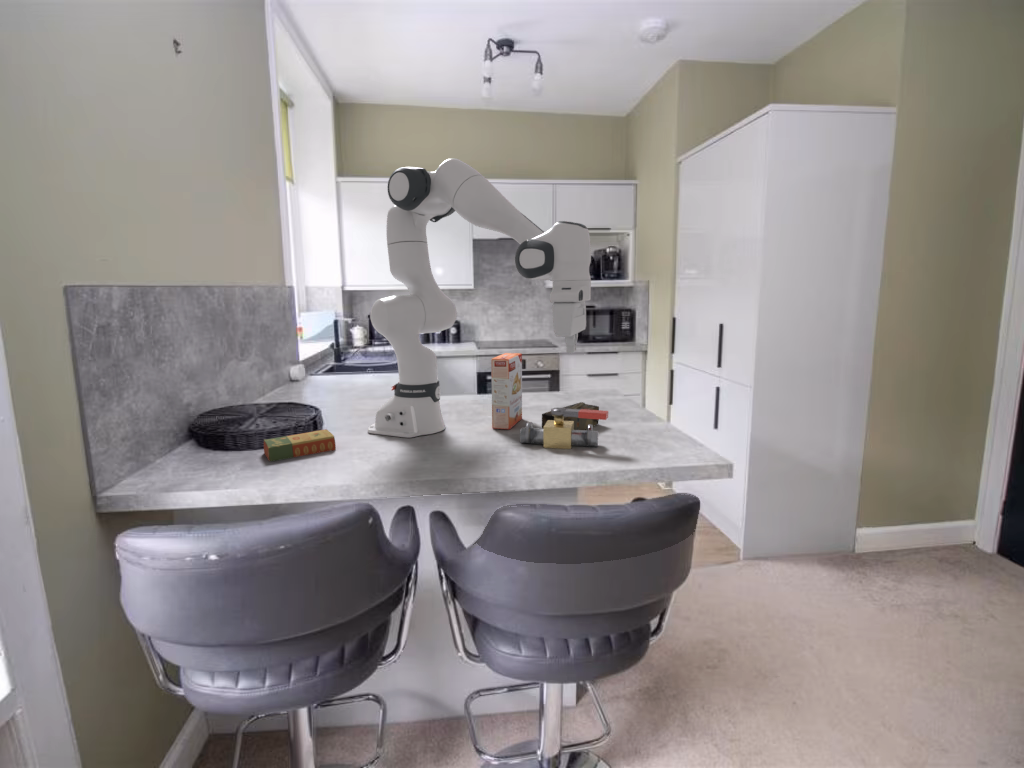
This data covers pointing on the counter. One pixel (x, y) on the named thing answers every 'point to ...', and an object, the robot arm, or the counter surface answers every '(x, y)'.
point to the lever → (580, 413)
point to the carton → (299, 445)
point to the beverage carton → (578, 422)
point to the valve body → (559, 434)
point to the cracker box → (506, 390)
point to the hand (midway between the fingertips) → (571, 352)
